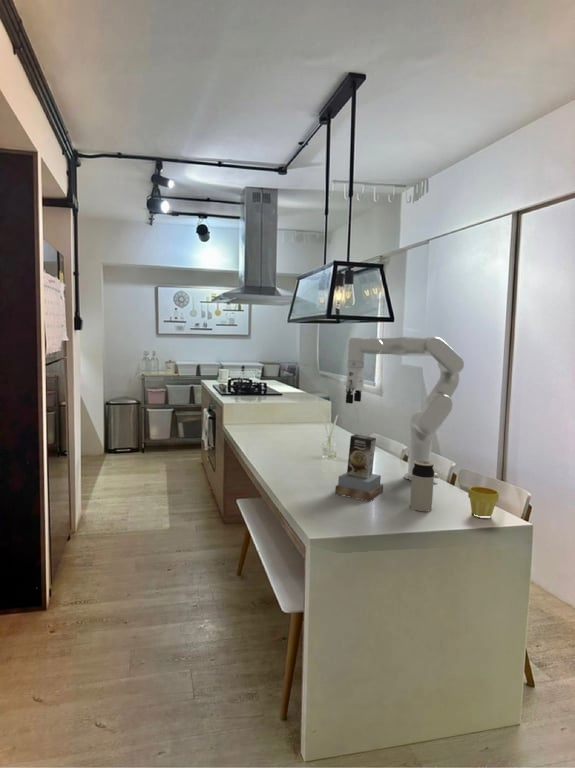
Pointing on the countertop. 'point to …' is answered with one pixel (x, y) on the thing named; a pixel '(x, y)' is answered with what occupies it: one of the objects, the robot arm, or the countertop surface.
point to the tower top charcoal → (359, 482)
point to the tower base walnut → (359, 492)
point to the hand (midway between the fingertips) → (353, 402)
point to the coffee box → (361, 456)
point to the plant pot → (482, 500)
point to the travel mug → (422, 485)
